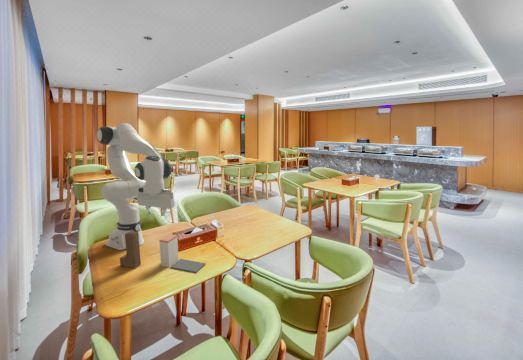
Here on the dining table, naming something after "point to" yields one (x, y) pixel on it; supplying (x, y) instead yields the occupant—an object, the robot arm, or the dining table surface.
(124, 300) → the dining table surface
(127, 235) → the wooden block
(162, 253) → the cream block
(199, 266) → the mat
